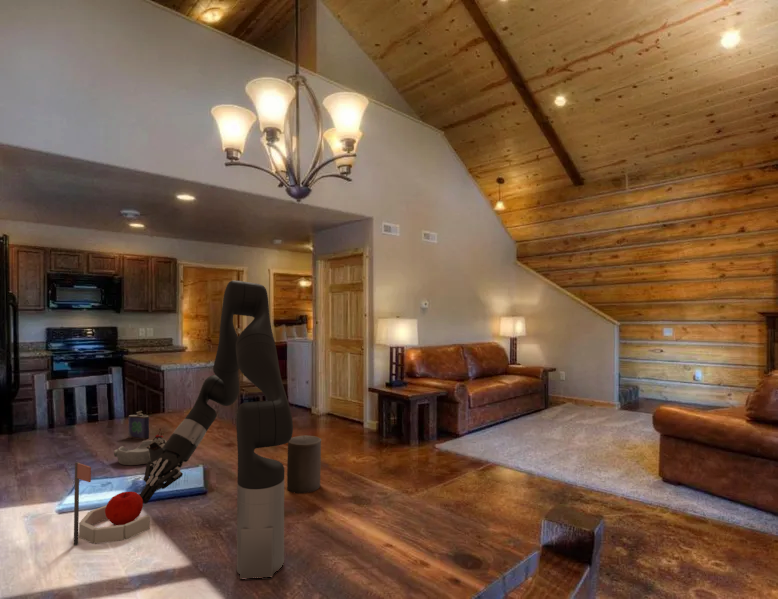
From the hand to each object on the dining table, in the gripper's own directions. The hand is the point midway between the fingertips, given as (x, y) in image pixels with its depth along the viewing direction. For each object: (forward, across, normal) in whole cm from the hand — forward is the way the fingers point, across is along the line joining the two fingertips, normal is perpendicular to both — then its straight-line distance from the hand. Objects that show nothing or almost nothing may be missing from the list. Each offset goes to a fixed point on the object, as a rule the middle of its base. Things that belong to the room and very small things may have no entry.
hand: (141, 501), depth 112 cm
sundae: (-9, -20, +15) cm, 26 cm away
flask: (-25, -68, +31) cm, 78 cm away
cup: (+9, 0, -4) cm, 10 cm away
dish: (-14, -41, +21) cm, 49 cm away
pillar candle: (-22, +23, +28) cm, 42 cm away
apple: (+6, 0, 0) cm, 6 cm away
